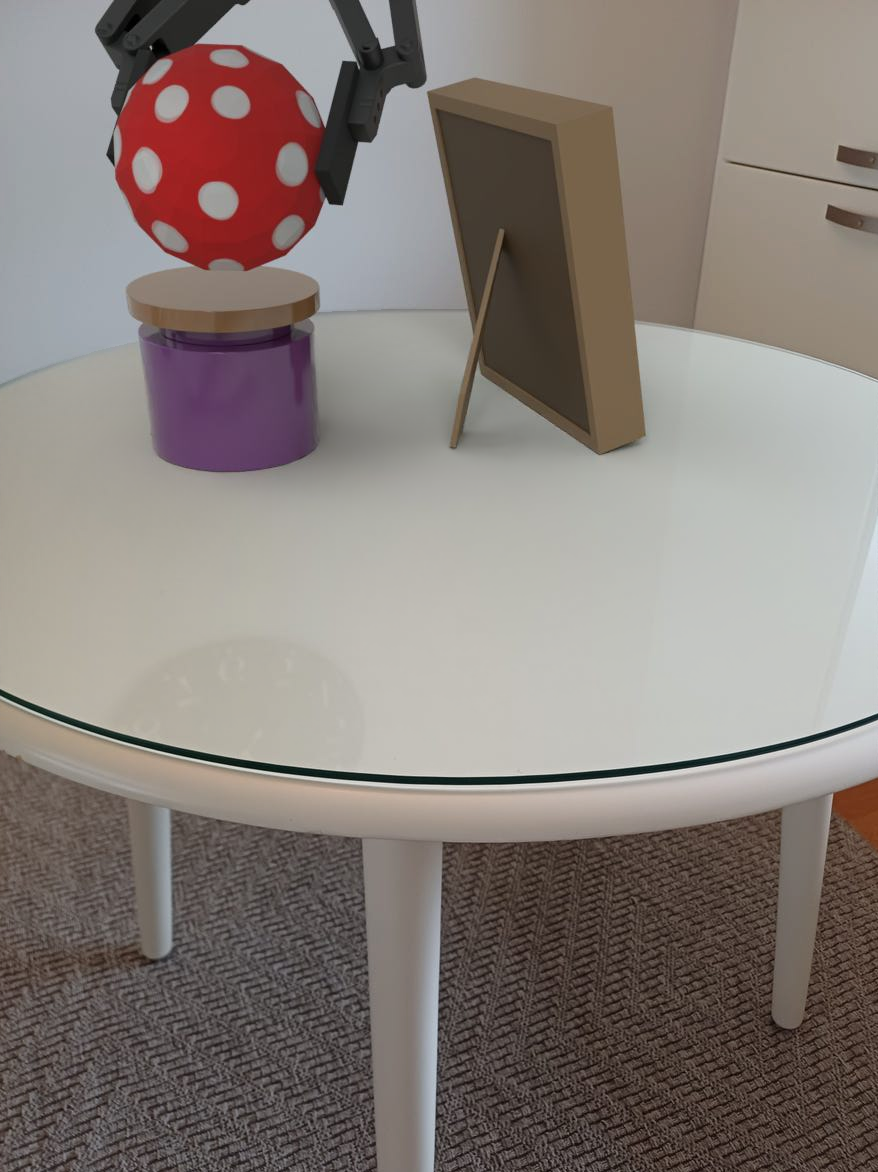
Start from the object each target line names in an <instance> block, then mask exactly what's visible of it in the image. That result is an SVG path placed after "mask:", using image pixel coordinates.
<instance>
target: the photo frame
mask: <svg viewBox="0 0 878 1172" xmlns="http://www.w3.org/2000/svg"><path fill="white" fill-rule="evenodd" d="M426 94H427V100H428V105H429V110H430V116H431V121H432V126H433V131H434V137H435V141H436V147H437V153H438V159H439V162H440V163H439V164H440V168H441V173H442V178H443V183H444V189H445V194H446V199H447V205H448V210H449V214H450V220H451V226H452V230H453V236H454V241H455V246H456V251H457V252H456V253H457V257H458V263H459V267H460V272H461V278H462V282H463V288H464V294H465V299H466V303H467V310H468V315H469V320H470V325H471V329H472V330H471V331H472V333H473V334H472V335H473V337H472V340H471V344H470V349H469V353H468V357H467V361H466V366H465V369H464V375H463V377H462V382H461V386H460V389H459V390H460V391H459V394H458V398H457V399H458V400H457V406H456V410H455V411H456V412H455V416H454V421H453V422H454V423H453V427H452V432H451V438H450V444H449V447H450V448H454V449H456V447H457V445H458V443H459V440H460V438H461V436H462V434H463V431H464V427H465V423H466V418H467V415H468V409H469V404H470V400H471V395H472V391H473V386H474V382H475V377H476V372H477V367H479V372H480V375H482V376H483V377H484V376H485V378H486V379H487V380H489V381H490V382H492V383H493V384H494V385H496V386H498V387H499V388H501V390H504V391H505V392H507V393H508V394H509V395H511V396H513V397H514V398H515V399H516V400H518V401H519V402H521V403H522V404H524V405H525V406H527V407H528V408H530V409H531V410H532V411H534V412H536V413H537V414H539V415H540V416H541V417H543V418H544V419H546V420H548V421H549V422H550V423H552V424H553V425H554V426H556V427H558V428H559V429H560V430H562V431H563V432H565V433H567V434H568V435H569V436H571V437H572V438H574V439H575V440H577V441H578V442H580V443H581V444H583V445H584V446H586V447H587V448H589V449H590V450H591V451H593V452H594V453H595V454H597V455H598V456H599V455H602V454H605V453H608V452H610V451H613V450H615V449H617V448H620V447H622V446H625V445H627V444H629V443H632V442H635V441H637V440H640V439H643V438H644V437H647V434H646V424H645V423H646V422H645V413H644V404H643V395H642V394H643V393H642V385H641V375H640V373H641V372H640V364H639V355H638V345H637V344H638V343H637V335H636V326H635V325H636V323H635V316H634V315H635V314H634V306H633V305H634V304H633V295H632V286H631V276H630V274H631V273H630V266H629V265H630V264H629V255H628V246H627V237H626V226H625V216H624V215H625V214H624V208H623V206H624V205H623V196H622V188H621V187H622V186H621V177H620V168H619V167H620V166H619V157H618V148H617V147H618V146H617V140H616V139H617V138H616V128H615V119H614V109H613V106H610V105H607V104H602V103H596V102H592V101H587V100H582V99H579V98H573V97H568V96H563V95H560V94H555V93H550V92H545V91H540V90H535V89H531V88H526V87H522V86H517V85H512V84H507V83H503V82H498V81H494V80H489V79H483V78H478V77H471V78H468V79H464V80H460V81H457V82H454V83H450V84H447V85H444V86H441V87H437V88H433V89H430V90H427V91H426Z"/></svg>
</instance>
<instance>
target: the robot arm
mask: <svg viewBox="0 0 878 1172" xmlns="http://www.w3.org/2000/svg"><path fill="white" fill-rule="evenodd" d="M250 1H251V0H113V1H112V2H111V4H110V5H109V6H108V7H107V9H106V10H105V12H104V14H103V15H102V16H101V17H100V19H99V20H98V22H97V23H96V25H95V28H94V33H95V35H96V37H97V39H98V40H99V42H100V43H101V45H102V47H103V48H104V50H105V52H106V54H107V55H108V57H109V58H110V60H111V61H112V63H113V65H114V67H115V68H116V69H117V70H119V71H118V74H117V76H116V80H115V83H114V86H113V90H112V93H111V96H110V104H111V108H112V110H113V112H114V113H115V114H116V116H117V118H116V120H115V124H114V127H113V130H112V134H111V137H110V139H109V144H108V148H107V151H106V154H105V156H106V157H107V158H108V160H109V161H110V163H111V165H112V166H113V167H114V168H115V159H114V135H113V133H114V130H115V128H116V125H117V122H118V119H119V116H120V114H121V111H122V108H123V105H124V103H125V100H126V97H127V94H128V91H129V90H130V89H131V88H132V87H133V86H134V85H135V84H136V83H137V82H138V81H139V79H140V78H141V77H142V76H143V75H144V74H145V73H146V72H147V71H148V70H149V69H150V68H151V67H152V66H153V65H154V64H155V62H156V61H157V60H159V59H161V58H164V57H166V56H168V55H171V54H173V53H176V52H178V51H181V50H183V49H186V48H188V47H190V46H193V45H195V44H198V42H199V41H200V40H201V39H202V38H203V37H204V36H205V35H206V34H207V33H208V32H209V31H210V30H211V29H212V28H213V27H214V26H215V25H216V24H217V23H219V22H220V20H221V19H222V18H223V17H225V15H227V14H228V13H229V12H230V11H231V9H233V8H234V7H235V6H236V5H239V6H246V5H247V4H249V2H250ZM328 2H329V4H330V7H331V9H332V11H334V13H335V16H336V18H337V21H338V23H339V25H340V27H341V29H342V32H343V34H344V36H345V38H346V41H347V43H348V46H349V47H350V49H351V52H352V54H353V56H354V59H355V61H354V60H341V65H340V69H339V72H338V77H337V81H336V85H335V88H334V92H333V97H332V100H331V104H330V108H329V112H328V116H327V120H326V124H325V131H324V135H323V139H322V143H321V147H320V151H319V155H318V159H317V163H316V167H315V173H316V175H317V177H318V180H319V182H320V184H321V187H322V189H323V191H324V194H325V196H326V198H325V199H326V201H327V202H328V203H327V204H328V205H331V206H344V204H345V203H344V202H345V199H346V194H347V191H348V187H349V182H350V178H351V174H352V171H353V166H354V162H355V158H356V154H357V149H358V146H359V143H368V144H371V143H373V141H374V140H375V138H376V137H377V136H378V131H379V127H380V124H381V120H382V115H383V111H384V108H385V107H384V106H385V103H386V98H387V95H388V94H389V93H390V92H391V91H392V89H393V88H395V87H398V86H403V85H405V86H407V87H408V88H409V89H419V88H421V87H423V86H424V85H425V84H426V83H427V81H428V80H427V79H428V75H427V67H426V61H425V55H424V49H423V39H422V34H421V27H420V21H419V13H418V6H417V0H388V5H389V11H390V21H391V27H392V34H393V42H394V45H391V46H387V47H384V48H382V47H381V43H380V40H379V37H378V36H376V33H375V32H374V29H373V27H372V25H371V23H370V20H369V19H368V17H367V14H366V11H364V7H363V6H362V4H361V2H360V0H328Z"/></svg>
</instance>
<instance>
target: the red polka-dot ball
mask: <svg viewBox="0 0 878 1172" xmlns="http://www.w3.org/2000/svg"><path fill="white" fill-rule="evenodd" d="M325 128H326V125H325V124H324V121H323V119H322V116H321V113H320V111H319V108H318V105H317V103H316V101H315V97H313V96H312V95H311V94H310V93H309V91H308V90H307V89H306V87H304V86H303V85H302V83H300V82H299V81H298V80H297V78H296V77H295V76H294V75H293V74H292V73H291V72H290V71H289V70H288V69H287V68H286V66H285V65H284V64H282V63H281V62H279V61H276V60H275V59H272V58H270V57H267V56H266V55H264V54H261V53H259V52H257V51H256V50H253V49H251V48H249V47H247V46H244V45H242V44H225V43H223V44H219V43H196V44H195V45H193V46H190V47H188V48H186V49H183V50H181V51H178V52H176V53H173V54H171V55H168V56H166V57H164V58H161V59H159V60H157V61H156V62H155V64H154V65H153V66H152V67H151V68H150V69H149V70H148V71H147V72H146V73H145V74H144V75H143V76H142V77H141V78H140V79H139V81H138V82H137V83H136V84H135V85H134V86H133V87H132V88H131V89H130V90H129V91H128V94H127V97H126V100H125V103H124V105H123V108H122V111H121V114H120V116H119V119H118V122H117V125H116V128H115V130H114V129H113V130H114V133H113V132H112V134H113V135H114V159H115V167H114V179H115V181H116V184H117V186H118V189H119V190H120V193H121V195H122V198H123V200H124V202H125V204H126V207H127V209H128V211H129V214H130V216H131V218H132V220H133V222H134V223H135V224H136V225H137V226H138V227H139V228H140V229H141V230H142V231H143V232H144V233H145V234H146V236H148V237H149V238H150V239H151V240H152V241H153V242H154V243H155V244H156V245H157V246H158V247H159V248H160V249H161V250H162V251H163V252H164V253H165V254H167V255H169V256H172V257H174V258H177V259H179V260H181V261H183V262H185V263H188V264H190V265H191V266H197V267H199V268H201V269H203V270H219V271H249V270H251V269H254V268H256V267H259V266H264V265H266V264H268V263H271V262H274V261H275V260H278V259H280V258H283V257H286V256H287V255H288V254H289V253H290V252H291V251H292V250H293V249H294V248H295V246H297V245H298V244H299V243H300V241H302V240H303V238H304V237H305V236H306V235H307V234H309V232H310V231H311V230H312V229H313V228H314V227H315V226H316V223H317V222H318V219H319V216H320V213H321V211H322V209H323V205H324V204H325V200H326V199H327V198H326V196H325V194H324V191H323V189H322V187H321V184H320V182H319V180H318V177H317V175H316V173H315V167H316V163H317V159H318V155H319V151H320V147H321V143H322V139H323V135H324V131H325Z"/></svg>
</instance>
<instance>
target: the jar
mask: <svg viewBox="0 0 878 1172" xmlns="http://www.w3.org/2000/svg"><path fill="white" fill-rule="evenodd" d="M320 288H321V287H320V284H319V282H318V281H317V280H316V279H315V278H313V277H311V276H310V275H307V274H304V273H302V272H299V271H295V270H291V269H286V268H281V267H274V266H264V265H261V266H259V267H256V268H254V269H251V270H249V271H219V270H203V269H201V268H199V267H197V266H194V265H191V266H184V267H183V266H182V267H175V268H170V269H165V270H164V269H163V270H160V271H155V272H151V273H148V274H145V275H142V276H139V277H137V278H135V279H133V280H131V281H130V282H129V283H128V284H127V286H126V287H125V297H126V306H127V310H128V313H129V315H130V316H131V317H132V318H133V319H135V320H136V321H138V322H140V323H141V324H140V325H139V326H138V329H137V336H138V337H137V338H138V343H139V352H140V359H141V360H140V361H141V367H142V375H143V383H144V391H145V397H146V399H145V400H146V407H147V415H148V424H149V430H150V438H151V447H152V449H153V452H154V453H156V455H157V456H159V458H161V459H162V460H165V461H166V462H169V463H171V464H173V465H176V466H181V467H183V468H188V469H193V470H199V471H209V472H247V471H255V470H256V471H257V470H263V469H269V468H273V467H279V466H282V465H286V464H289V463H293V462H295V461H297V460H299V459H301V458H304V457H306V456H307V455H309V454H310V453H311V452H313V451H314V450H315V449H316V448H317V447H318V445H319V442H320V438H321V437H320V436H321V435H320V418H319V417H320V416H319V415H320V414H319V394H318V393H319V392H318V391H319V390H318V372H317V371H318V370H317V349H316V326H315V324H314V322H313V321H312V320H311V319H310V318H312V317H313V316H315V315H316V314H317V313H318V312H319V311H320V308H321V290H320Z"/></svg>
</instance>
